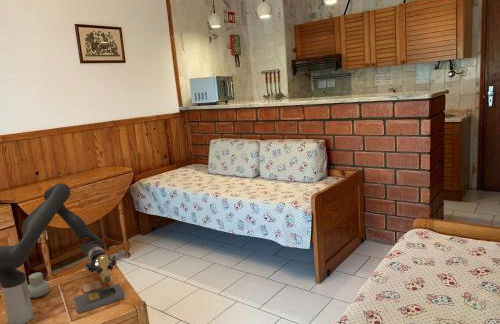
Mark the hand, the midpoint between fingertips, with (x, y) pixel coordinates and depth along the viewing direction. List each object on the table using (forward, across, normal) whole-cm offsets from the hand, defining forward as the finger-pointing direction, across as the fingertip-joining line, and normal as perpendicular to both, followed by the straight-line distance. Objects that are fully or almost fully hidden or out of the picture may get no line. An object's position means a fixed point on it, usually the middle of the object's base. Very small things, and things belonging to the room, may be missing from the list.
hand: (105, 269), depth 176 cm
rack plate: (-2, -4, +15) cm, 16 cm away
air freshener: (-28, -27, +15) cm, 42 cm away
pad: (-15, -5, +15) cm, 22 cm away
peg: (-3, 0, +7) cm, 7 cm away
